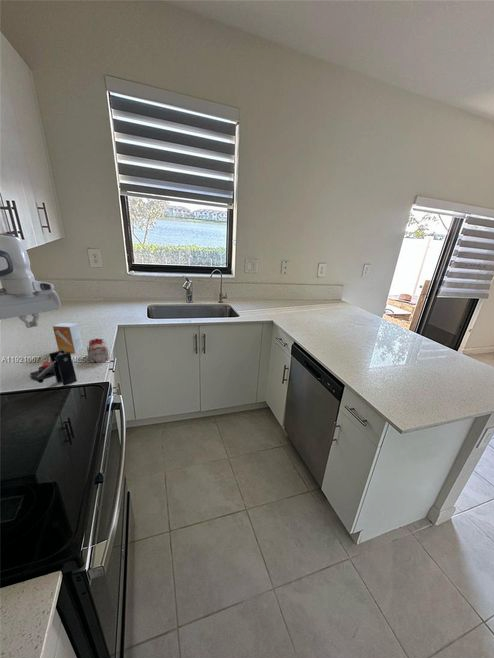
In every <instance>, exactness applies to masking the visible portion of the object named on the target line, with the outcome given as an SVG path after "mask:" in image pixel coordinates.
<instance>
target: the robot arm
mask: <svg viewBox="0 0 494 658" xmlns="http://www.w3.org/2000/svg"><path fill="white" fill-rule="evenodd" d="M0 284H1V287H2V288H0V321H1V320H6V319H7V320H8V319H13V318H18V319H19V320H21V321H22V322H23V323H24V325H25V327H26V328H27V329H31V328H36V327H38V326H39V324H38V321H39V318H40V313H47V312H53V311H59V310H61V308H62V303H61V300H60V297H59V295H58V293H57V292H56V291H55V290H54V289H55V286H54V284H53V283H50V282H47V281H42V280H37V279H36V278H35V275H34V274H33V272H32V270H31V261H30V257H29V254H28V252H27V248H26V246H25V244H24V243H23V241H22V240H21V238H20V237H18V236H15V235H12V234H8V233H1V232H0ZM30 315H31V316H32V320H30V321H28V320H27V319H28V317H27V316H30Z"/></svg>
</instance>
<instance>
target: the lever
mask: <svg viewBox="0 0 494 658" xmlns="http://www.w3.org/2000/svg"><path fill="white" fill-rule="evenodd" d="M60 354H63V353H61V352H60V353H58V354H57V355H60ZM57 355H56V356H57ZM56 356H55V357H54V359H55V361H54V362H52V363H51V364H50V365H49V366H48V367H47V368H46V369H45V370H44V371H42V372H41V373H40V374H39V375H38V376H34V375H33V376H32V375H30V378H31V380H33V381H34V382H38V383H40V384H42V383H44V379H41V378H42V377H43V376H44V375H46V374H47V373H48V372H49V371H50V370H51V369H52V368H53V367H54V366H55V365H57V360H56Z"/></svg>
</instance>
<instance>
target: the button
mask: <svg viewBox="0 0 494 658" xmlns="http://www.w3.org/2000/svg"><path fill="white" fill-rule="evenodd" d="M51 363H52V362H51V361H46V362H44V363H42V365H41V366H43V369H46V368H47V367H48V366H49V365H50V364H51Z"/></svg>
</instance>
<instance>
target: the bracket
mask: <svg viewBox="0 0 494 658" xmlns="http://www.w3.org/2000/svg"><path fill="white" fill-rule="evenodd" d="M60 352H61V353H63V354H60V355H57V354H58V353H60ZM71 354H72V353H69V352H64V351H63V350H61V351H59V350H58V351H53V352H50V353H49V354H48V355H49V358H50V362H54V361H55V359H54V357H55V356H56V355H57V356H56V360H57V365H55V366H54V367H53V370H54V373H55V376H54V377H55V381H56V383H57V384H58V383H59V384H60V383H61V384H62V385H63V386H67V385H70V384H73V383H75V382H78V380H77V376H76V372H75V368H74V364H73V358H72V355H71Z"/></svg>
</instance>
